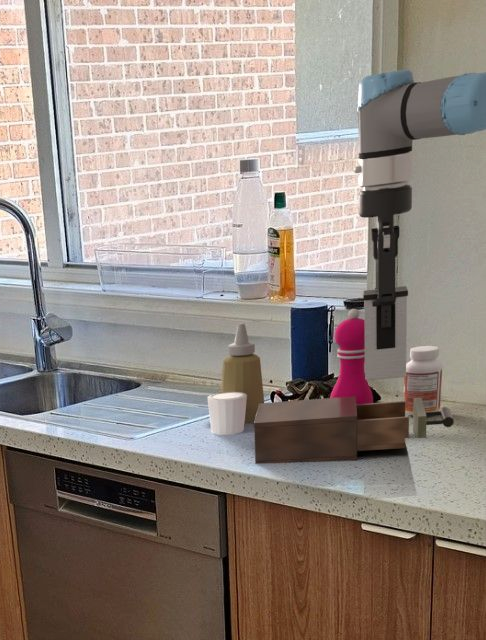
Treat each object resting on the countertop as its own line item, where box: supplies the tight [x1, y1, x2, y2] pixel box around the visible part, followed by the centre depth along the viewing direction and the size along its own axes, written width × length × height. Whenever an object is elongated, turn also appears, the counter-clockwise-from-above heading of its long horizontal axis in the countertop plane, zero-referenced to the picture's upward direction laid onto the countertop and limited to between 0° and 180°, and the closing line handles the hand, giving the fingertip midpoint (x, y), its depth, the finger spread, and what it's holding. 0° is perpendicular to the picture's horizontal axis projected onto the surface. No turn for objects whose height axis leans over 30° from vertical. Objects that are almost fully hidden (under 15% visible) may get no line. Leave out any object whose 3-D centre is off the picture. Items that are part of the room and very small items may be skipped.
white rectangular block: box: [362, 285, 409, 381], centre depth 190 cm, size 6×5×13 cm
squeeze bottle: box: [219, 322, 265, 425], centre depth 222 cm, size 8×8×18 cm
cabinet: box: [253, 396, 358, 465], centre depth 199 cm, size 16×15×7 cm
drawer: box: [356, 398, 455, 452], centre depth 196 cm, size 19×13×5 cm
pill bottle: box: [402, 345, 443, 416], centre depth 213 cm, size 6×6×11 cm
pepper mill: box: [329, 308, 374, 404], centre depth 208 cm, size 7×7×20 cm
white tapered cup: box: [207, 392, 247, 436], centre depth 218 cm, size 7×7×7 cm
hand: (385, 344), depth 191 cm, fingers closed on white rectangular block, 5 cm apart
